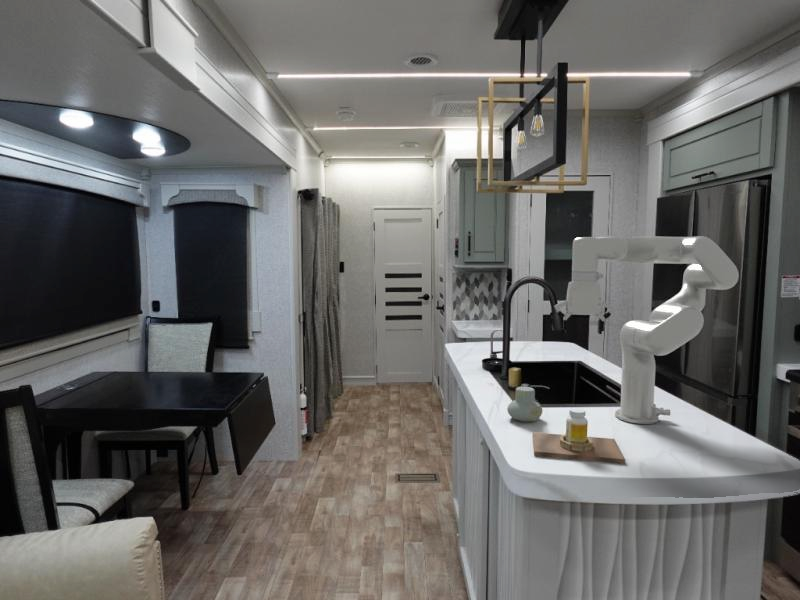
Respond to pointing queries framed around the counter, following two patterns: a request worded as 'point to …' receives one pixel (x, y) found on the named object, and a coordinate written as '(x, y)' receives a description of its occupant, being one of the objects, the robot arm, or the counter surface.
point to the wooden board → (577, 448)
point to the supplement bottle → (576, 426)
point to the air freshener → (525, 405)
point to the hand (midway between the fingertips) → (583, 333)
